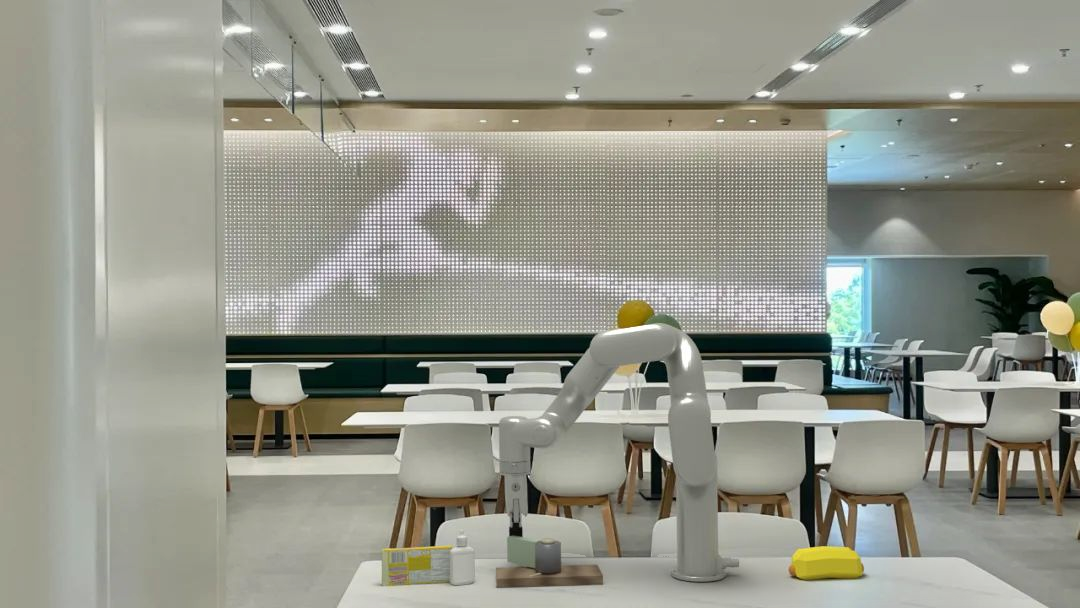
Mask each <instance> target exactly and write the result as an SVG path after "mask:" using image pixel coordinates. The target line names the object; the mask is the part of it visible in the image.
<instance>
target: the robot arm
mask: <svg viewBox="0 0 1080 608" xmlns="http://www.w3.org/2000/svg"><path fill="white" fill-rule="evenodd" d="M656 361H657V362H658V361H662V362H663V363H664V364H665V366H666V372H667V382H668V388H669V397H670V398H669V399H670V407H669V409H668V413H667V423H668V424H667V425H668V432H669V433H668V434H669V440H670V448H671V457H672V466H673V470H674V474H675V480H676V481H675V483H676V484H675V485H676V488H675V491H676V492H675V493H676V495H675V496H676V498H675V499H676V500H675V501H676V503H675V504H676V505H675V507H676V510H675V511H676V513H675V514H676V558H677V559H676V560H677V561H676V562H677V563H676V565H675V566H673V567H671V569H670V575H671V576H672V577H673V578H675V579H678V580H681V581H686V582H697V583H699V582H700V583H702V582H703V583H704V582H705V583H708V582H715V581H720V580H722V579H724V578H725V577H726V576H727V575H726V569H727V568H733V569H734V568H740V561H739V558H731V557H722V556H721V555H720V554H719V519H718V517H719V515H718V514H719V512H718V511H719V510H718V509H719V508H718V501H719V500H718V457H717V453H716V451H715V445H714V435H713V429H712V427H713V426H712V419H711V416H712V415H711V414H712V411H711V408H710V404H709V400H708V393H707V385H706V378H705V372H704V367H703V366H704V365H703V362H702V361H703V360H702V356H701V353H700V351H699V349H698V347H697V345H696V343H695V342H694V341H693V339H692V338H691V337H690V336H689V335H688V334H687V333H685V332H684V331H683V330H681V329H679V328H677V327H675V326H673V325H670V324H667V323H663V322H656V323H655V322H654V323H650V324H643V325H639V326H632V327H627V328H619V329H609V330H603V331H600V332H598V333H597V334H596V335H594V336H593V338H592V340H591V341H590V344H589V348H587V349H586V351H585V352H584V354H583V356H581V358H580V359H579V360H578V361H577V363H576V364H575V365H574V366H573V368H572V369H570V371H569V373H567V375H566V377H565V379H564V382H563V385H562V387H561V389H560V391H559V393H558V395H557V396H556V397H555V398H554V400H553V401H552V402H551V404H549V405H548V407H547V409H545V411H544V412H543V414H542V415H540V416H538V417H534V418H527V417H526V416H520V415H519V416H518V415H515V416H514V415H513V416H504V417H501V418H500V420H499V421H498V446H499V447H498V453H499V454H498V456H499V459H498V460H499V461H498V462H499V464H498V465H499V475H501V476H504V497H505V498H504V500H505V509H506V513H507V516H508V517H509V527H508V537H509V536H519V537H524V536H523V535H524V534H523V525H522V522H523V521H522V516H524V517H528V515H529V514H528V512H529V511H528V482H527V480H528V479H527V475H530V474H531V448H535V449H541V450H542V449H549V448H551V447H553V446H554V445H556V444H557V443H558V442H559V441H561V440H562V439H563V437H564V436H566V434H568V433H567V432H569V430H570V429H571V428H572V426H573V425H574V424H575V422H576V421H577V420H578V419H579V417H580V416H581V415H582V414H583V412H584V411H585V410H586V409H587V407H588V406H589V405H591V403H592V402H593V401H594V399H595V398H596V397H597V395H599V393H600V392H601V390H603V388H604V386H606V384H607V383H608V382H609V380H610V379H612V376H613V375H614V374H615V373H616V372H617V371H618V369H619V368H620V367H621V366H628V365H629V366H630V365H637V364H643V363H651V362H656Z"/></svg>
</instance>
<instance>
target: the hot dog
mask: <svg viewBox="0 0 1080 608" xmlns="http://www.w3.org/2000/svg"><path fill="white" fill-rule="evenodd" d="M790 562H791V563H790V565H789V566H788V573H789V575H791V576H792V577H797V578H798V579H801V580H802V581H808V580H809V581H810V580H821V579H829V578H831V579H832V578H833V579H834V578H836V579H857V578H860V577H861V576H863V575H864V572H865V566H864V564H863V562H862V559H861V557H860V556H859V555H858V553H857V552H856V551H855V550H852V549H851V548H850V547H846V546H830V545H829V546H823V545H821V546H813V547H806V548H805V547H804V548H798V549H796V551H795V552H794V553H793V555H792V556H791V561H790Z"/></svg>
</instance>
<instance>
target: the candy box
mask: <svg viewBox="0 0 1080 608" xmlns="http://www.w3.org/2000/svg"><path fill="white" fill-rule="evenodd" d="M451 549H453V546H452V545H436V546H435V545H434V546H419V547H397V548H396V547H395V548H382V549H381V586H382V587H389V586H411V585H412V584H413V585H429V584H430V585H431V584H432V583H433V584H445V583H449V584H451V583H450V550H451Z"/></svg>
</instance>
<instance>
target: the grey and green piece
mask: <svg viewBox="0 0 1080 608" xmlns="http://www.w3.org/2000/svg"><path fill="white" fill-rule="evenodd" d="M506 543H507V545H506V547H507V550H506V551H507V552H506V554H507V556H506V557H507V563H511V564H514V565H519V566H522V567H533V568H535V571H536V572H538V573H545V574H550V573H557V572H560V571H561V566H562V543H561V541H559V540H555V538H550V537H548V538H542V539H541V540H540V539H535V538H529V537H524V536H523V537H519V536H509V535H508V536H506Z"/></svg>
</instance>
